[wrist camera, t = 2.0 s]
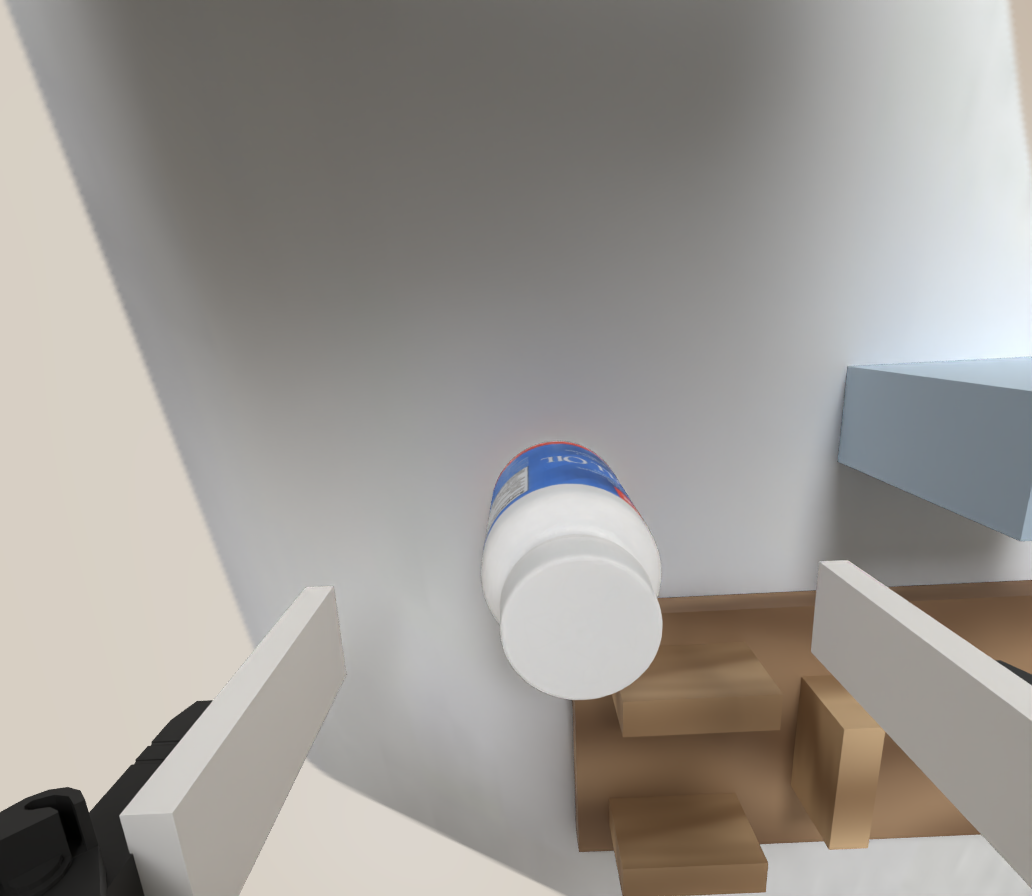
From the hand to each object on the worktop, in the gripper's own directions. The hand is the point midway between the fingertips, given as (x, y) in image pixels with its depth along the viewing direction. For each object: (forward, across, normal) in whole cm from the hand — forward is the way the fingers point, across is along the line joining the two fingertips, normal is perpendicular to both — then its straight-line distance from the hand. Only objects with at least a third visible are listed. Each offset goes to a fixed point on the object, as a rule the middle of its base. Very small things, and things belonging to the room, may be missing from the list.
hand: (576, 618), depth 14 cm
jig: (+8, +12, -11) cm, 18 cm away
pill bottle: (+8, 0, +1) cm, 9 cm away
